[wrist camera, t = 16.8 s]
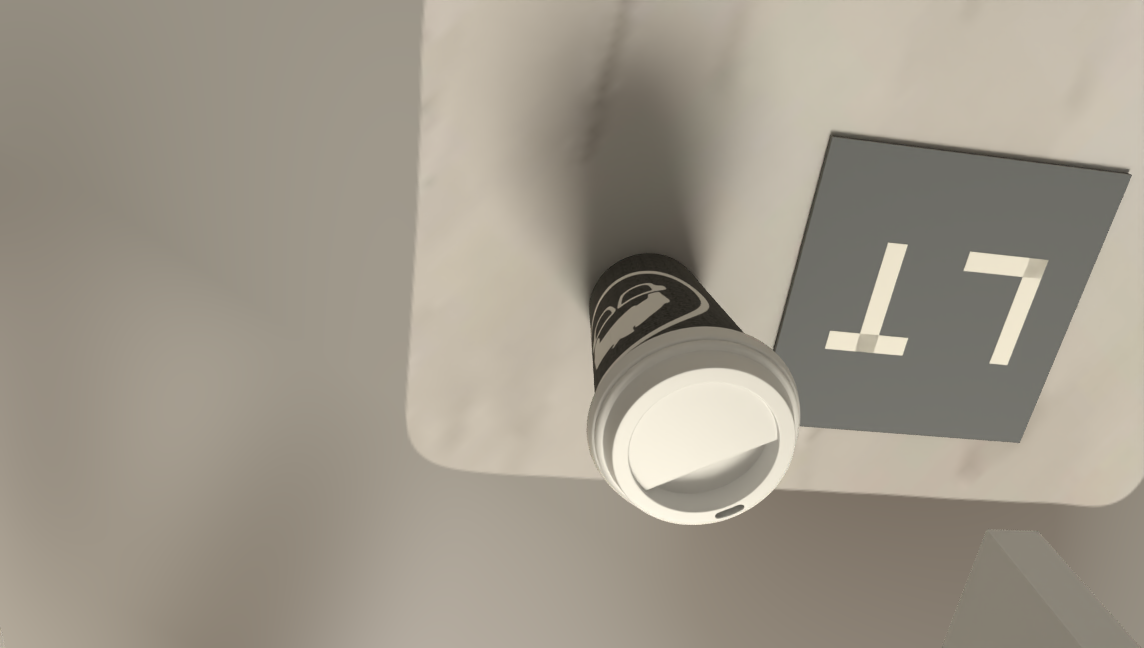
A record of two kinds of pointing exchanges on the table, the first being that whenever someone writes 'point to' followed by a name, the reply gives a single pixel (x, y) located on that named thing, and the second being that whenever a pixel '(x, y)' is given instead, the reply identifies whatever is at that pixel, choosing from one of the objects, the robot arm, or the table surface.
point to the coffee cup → (684, 397)
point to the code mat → (938, 287)
